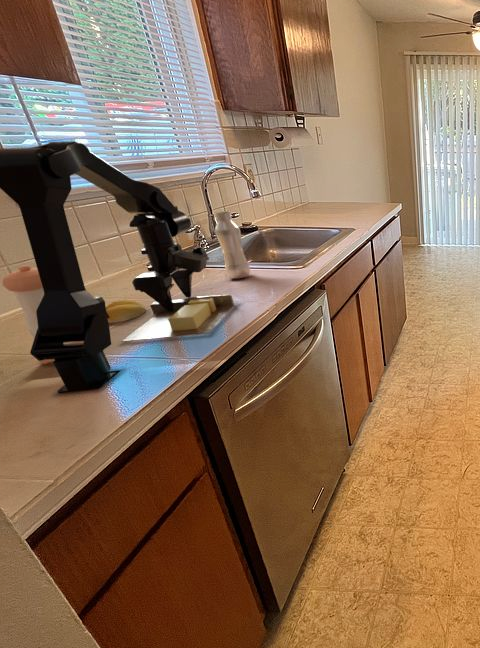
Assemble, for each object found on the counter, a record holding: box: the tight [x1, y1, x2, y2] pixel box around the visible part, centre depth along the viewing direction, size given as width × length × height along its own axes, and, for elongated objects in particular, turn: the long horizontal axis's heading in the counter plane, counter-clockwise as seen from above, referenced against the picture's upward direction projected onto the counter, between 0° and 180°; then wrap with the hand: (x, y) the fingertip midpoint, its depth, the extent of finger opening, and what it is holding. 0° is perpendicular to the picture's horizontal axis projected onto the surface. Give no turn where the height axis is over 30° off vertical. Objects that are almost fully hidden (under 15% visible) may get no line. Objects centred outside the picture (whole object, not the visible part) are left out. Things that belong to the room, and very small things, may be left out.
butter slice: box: [188, 298, 216, 312], centre depth 98 cm, size 2×5×3 cm, turn 102°
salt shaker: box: [2, 264, 84, 365], centre depth 77 cm, size 7×7×19 cm
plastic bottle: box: [214, 211, 251, 279], centre depth 121 cm, size 6×7×20 cm
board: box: [122, 301, 237, 342], centre depth 95 cm, size 18×17×1 cm
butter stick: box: [168, 303, 211, 331], centre depth 93 cm, size 8×5×3 cm, turn 11°
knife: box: [149, 293, 235, 314], centre depth 100 cm, size 18×2×3 cm, turn 101°
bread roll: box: [105, 299, 147, 324], centre depth 97 cm, size 8×9×4 cm
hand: (180, 303), depth 99 cm, fingers open, 9 cm apart
